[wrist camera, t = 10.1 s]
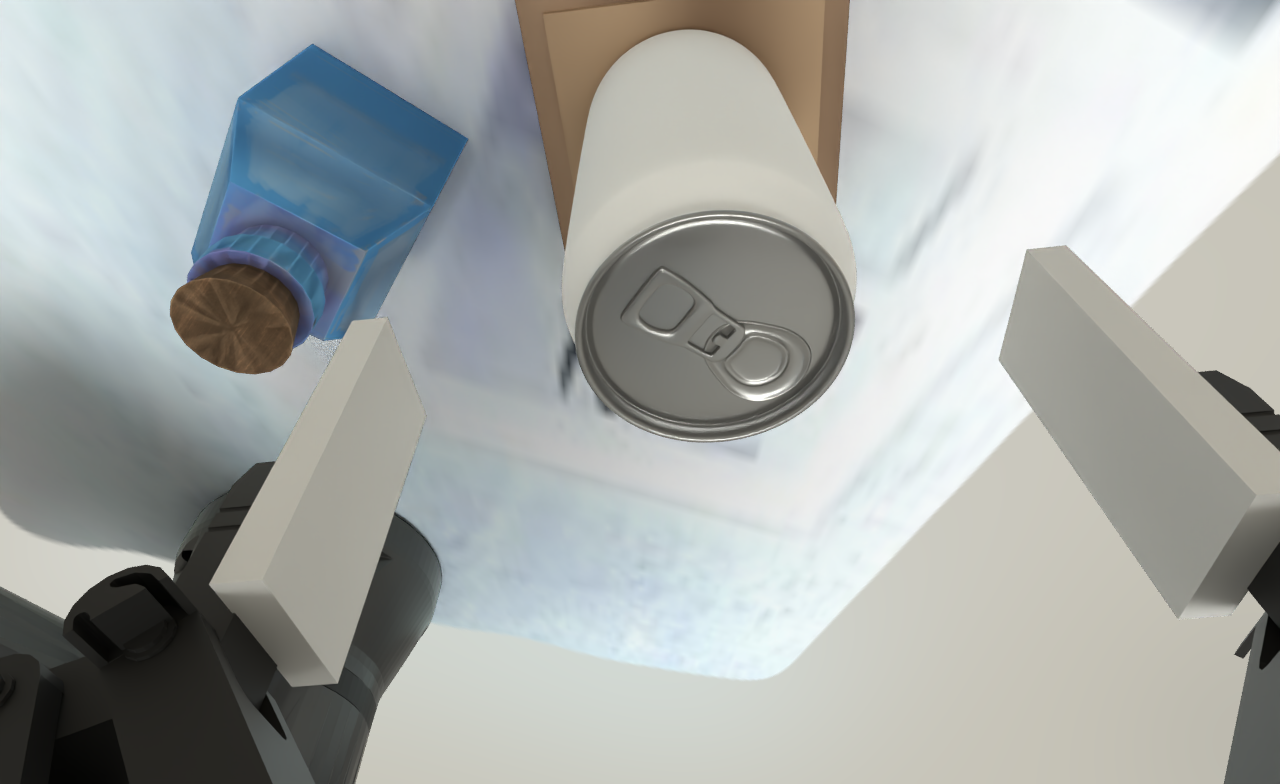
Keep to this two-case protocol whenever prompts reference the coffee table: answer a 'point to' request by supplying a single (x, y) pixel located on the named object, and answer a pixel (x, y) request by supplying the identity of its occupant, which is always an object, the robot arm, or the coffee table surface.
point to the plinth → (658, 3)
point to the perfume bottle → (308, 212)
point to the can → (703, 247)
